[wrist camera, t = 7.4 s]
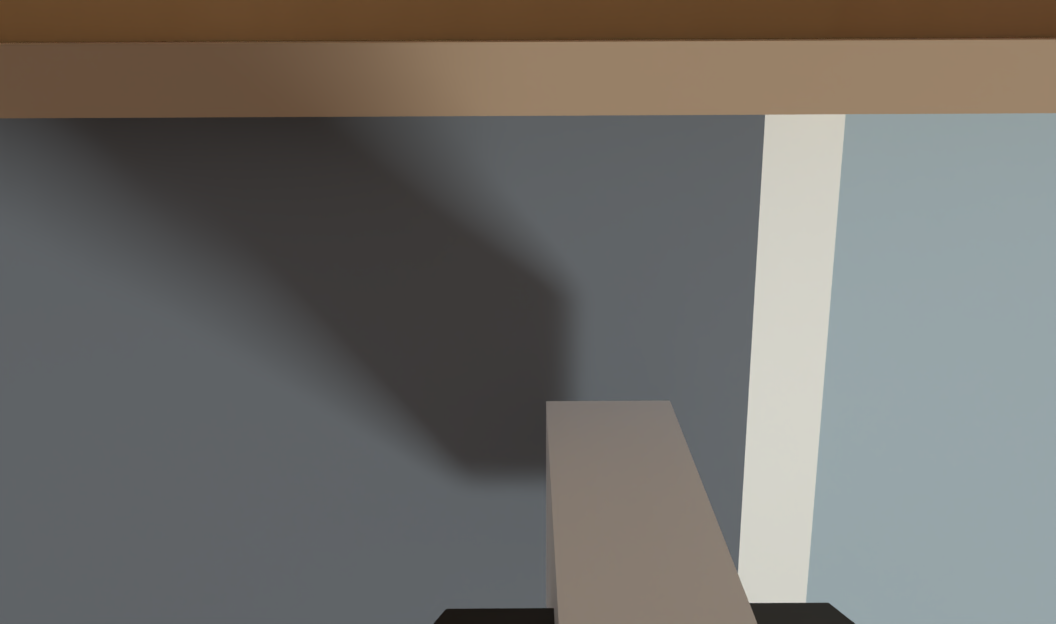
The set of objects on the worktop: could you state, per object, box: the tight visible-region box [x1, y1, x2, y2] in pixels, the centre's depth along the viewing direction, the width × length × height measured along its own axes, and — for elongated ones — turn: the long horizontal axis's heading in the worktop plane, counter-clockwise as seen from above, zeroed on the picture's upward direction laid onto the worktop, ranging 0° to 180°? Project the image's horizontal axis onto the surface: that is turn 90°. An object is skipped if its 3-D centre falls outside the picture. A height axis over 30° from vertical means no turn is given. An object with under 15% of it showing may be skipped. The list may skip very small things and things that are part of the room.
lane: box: [0, 38, 1056, 624], centre depth 13 cm, size 32×11×4 cm, turn 90°
